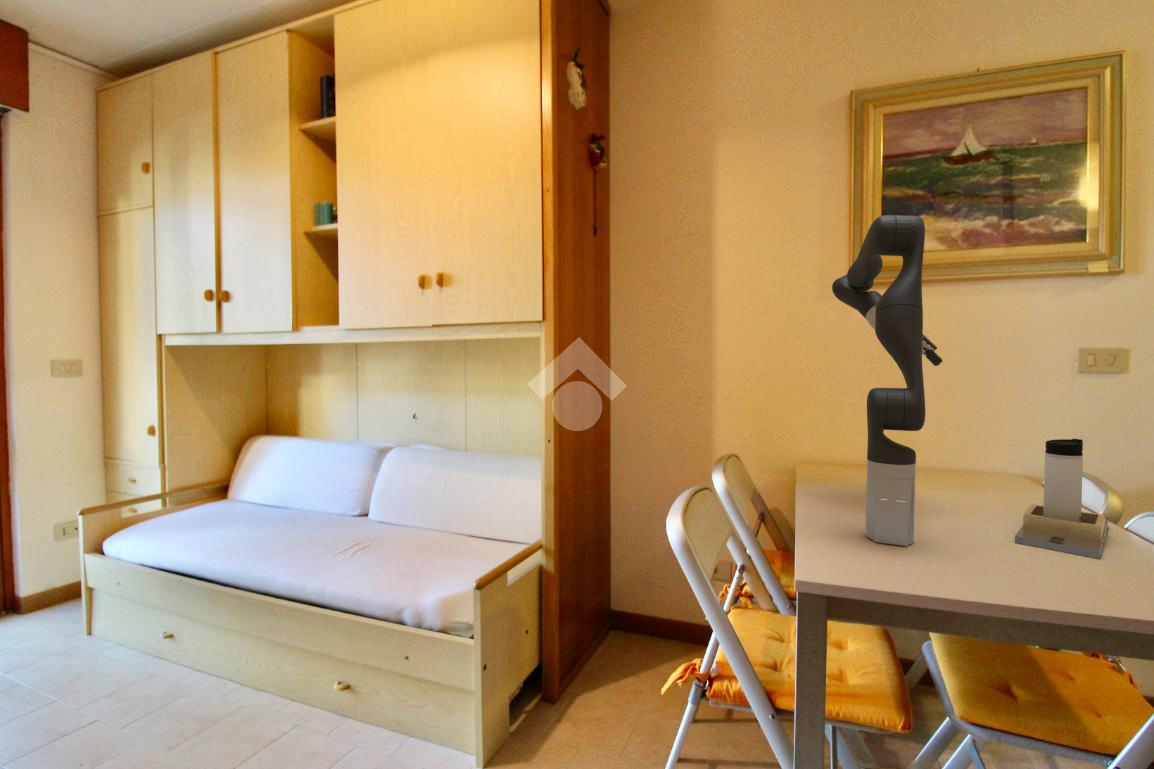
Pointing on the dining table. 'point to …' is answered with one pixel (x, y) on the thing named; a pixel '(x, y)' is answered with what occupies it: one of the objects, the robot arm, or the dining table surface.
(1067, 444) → the travel mug
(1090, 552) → the open tray on base
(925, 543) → the dining table surface
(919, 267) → the robot arm
